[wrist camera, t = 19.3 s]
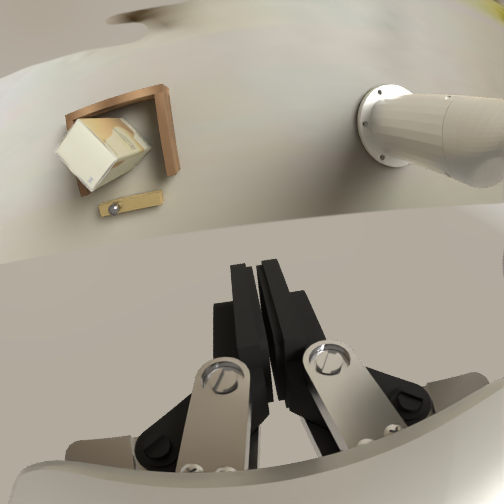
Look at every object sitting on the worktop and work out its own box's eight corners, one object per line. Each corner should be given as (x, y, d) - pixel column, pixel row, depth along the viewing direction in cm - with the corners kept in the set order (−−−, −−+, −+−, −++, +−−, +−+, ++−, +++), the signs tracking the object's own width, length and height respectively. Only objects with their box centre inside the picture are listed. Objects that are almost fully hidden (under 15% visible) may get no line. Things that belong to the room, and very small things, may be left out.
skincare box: (153, 147, 32) (121, 161, 21) (131, 170, 33) (93, 195, 22) (121, 115, 29) (77, 116, 18) (100, 139, 30) (52, 152, 19)
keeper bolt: (161, 189, 34) (157, 194, 32) (163, 200, 35) (160, 206, 32) (102, 202, 34) (95, 208, 31) (105, 212, 34) (98, 219, 32)
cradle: (168, 87, 28) (161, 83, 25) (180, 169, 33) (175, 174, 30) (79, 114, 28) (65, 115, 24) (93, 188, 33) (81, 196, 29)
